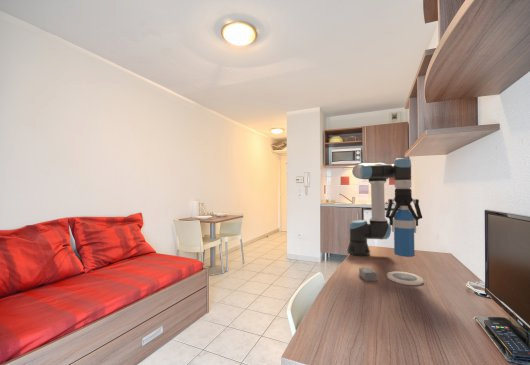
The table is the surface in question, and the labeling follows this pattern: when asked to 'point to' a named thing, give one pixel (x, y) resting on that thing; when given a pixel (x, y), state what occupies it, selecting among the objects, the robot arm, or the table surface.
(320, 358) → the table surface
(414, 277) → the cream plate
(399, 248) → the water bottle
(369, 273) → the box
